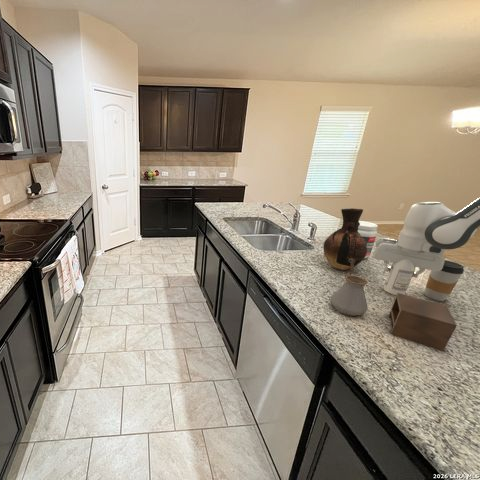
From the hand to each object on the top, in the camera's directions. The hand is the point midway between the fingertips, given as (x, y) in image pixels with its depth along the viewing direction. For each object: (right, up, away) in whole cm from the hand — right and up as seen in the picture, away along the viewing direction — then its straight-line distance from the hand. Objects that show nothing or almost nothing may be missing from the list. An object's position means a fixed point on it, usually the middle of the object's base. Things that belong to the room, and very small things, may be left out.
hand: (400, 273), depth 103 cm
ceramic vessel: (-7, 0, +25) cm, 26 cm away
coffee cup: (+14, -9, 0) cm, 16 cm away
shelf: (-14, -17, -20) cm, 29 cm away
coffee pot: (-26, -11, -4) cm, 28 cm away
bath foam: (0, -8, +3) cm, 9 cm away
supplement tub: (+11, +5, +38) cm, 40 cm away
